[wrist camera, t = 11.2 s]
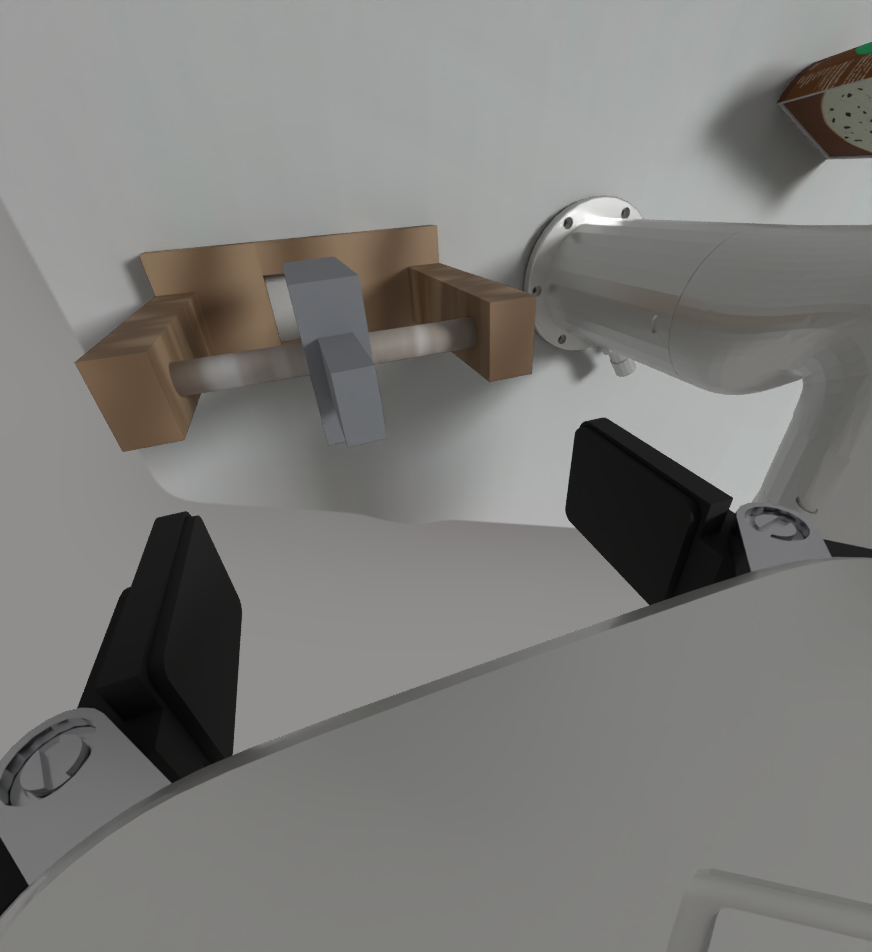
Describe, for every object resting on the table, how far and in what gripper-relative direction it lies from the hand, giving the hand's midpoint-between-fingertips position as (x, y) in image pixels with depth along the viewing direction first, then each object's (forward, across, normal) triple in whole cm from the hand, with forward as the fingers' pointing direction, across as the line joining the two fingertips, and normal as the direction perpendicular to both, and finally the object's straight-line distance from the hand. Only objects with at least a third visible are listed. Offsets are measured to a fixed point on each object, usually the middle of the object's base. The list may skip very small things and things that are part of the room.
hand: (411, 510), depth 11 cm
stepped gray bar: (+20, 0, 0) cm, 20 cm away
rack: (+28, 0, 0) cm, 28 cm away
